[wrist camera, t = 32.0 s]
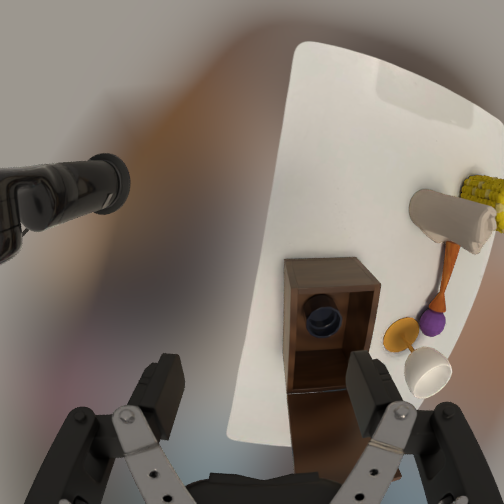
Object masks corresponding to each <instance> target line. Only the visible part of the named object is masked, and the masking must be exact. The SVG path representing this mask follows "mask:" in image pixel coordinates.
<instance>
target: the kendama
mask: <svg viewBox="0 0 504 504" xmlns="http://www.w3.org/2000/svg"><path fill="white" fill-rule="evenodd" d="M459 249H460V245H458V244H457V243H455V242H452V241H446V248H445V257H444V266H443V273H442V280H441V286H440V292H439V293H438V294H437V296H436V297H435V298H434V299H433V301H432V302H431V303H430V304H429V308H430V309H428V310H426V311H425V312H424V313H423V315H422V316H421V318H420V329H421V331H422V332H423V334H425V335H427V336H430V337H434V336H436V335H438V334H440V333H441V332H442V331H443V329H444V326H445V323H446V320H445V316H444V314H443V312H446V305H445V296H444V292H445V290H446V287H447V284H448V282H449V279H450V276H451V273H452V271H453V268H454V265H455V262H456V259H457V256H458V252H459Z"/></svg>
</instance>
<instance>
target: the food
mask: <svg viewBox="0 0 504 504" xmlns="http://www.w3.org/2000/svg"><path fill="white" fill-rule="evenodd" d="M461 198H463V199H466V200H470V201H474V202H477V203H481V204H484V205H488V206H491V207H493V208H494V209H495V210H496V211H497V216H495V220H496V231H499V232H500V233H504V179H498V178H497V177H489V176H485V175H484V176H481V175H476V176H470V177H469V179H466V180H465V181H464V186H463V187H462V193H461Z"/></svg>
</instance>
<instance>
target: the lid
mask: <svg viewBox="0 0 504 504" xmlns="http://www.w3.org/2000/svg"><path fill="white" fill-rule="evenodd" d="M287 406H288V415H289V425H290V435H291V445H292V456H293V466H294V474H295V473H308V472H318V473H319V478H325V479H330V480H333V481H336V482H339V483H341V484H343V483H344V482H345V480H346V479H347V477H348V476H349V474H350V473H351V471H352V470H353V468H354V466H355V465H356V463H357V461H358V460H359V458H360V456H361V455H362V453H363V451H364V450H365V448H366V446H367V444H368V443H369V441H370V440H371V438H370V437H367V438H362V435H361V432H360V429H359V425H358V422H357V419H356V416H355V413H354V409H353V406H352V403H351V400H350V397H349V394H348V391H347V389H345V390H337V391H327V392H315V393H301V394H287ZM401 477H402V475H401V473H400V470H399V468H398V469H397V471H396V473H395V475H394V477H393V479H392V481H396V480H399V479H401Z"/></svg>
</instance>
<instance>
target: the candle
mask: <svg viewBox="0 0 504 504" xmlns="http://www.w3.org/2000/svg"><path fill="white" fill-rule="evenodd" d="M409 214H410V217H411V220H412V221H413V223H414V224H415V225H417V226H418V227H419V228H420V229H421V230H422V231H423V232H424V233H425V234H426V235H427V236H428V237H429V238H430V239H432V240H433V241H434V242H436V243H441V242H443V243H444V245H446V241H451V240H452V241H453V242H455V243H457V244H458V245H460V246H461V247H463V248H464V249H466V250H467V251H469V252H470V253H472V254H478V253H480V250H481V248H482V247H483V245H484V244H485V242H486V241H487V240H488V239H489V237H490V236H491V234H492V231H495V230H496V220H495V216H497V211H496V210H495V209H494V208H493V207H491V206H488V205H484V204H481V203H477V202H474V201H470V200H466V199H463V198H459V197H455V196H450V195H445V194H441V193H438V192H435V191H431V190H427V189H422V190H419V191H418V192H416V193H415V194H414V196H413V197H412V199H411V201H410V205H409Z"/></svg>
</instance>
